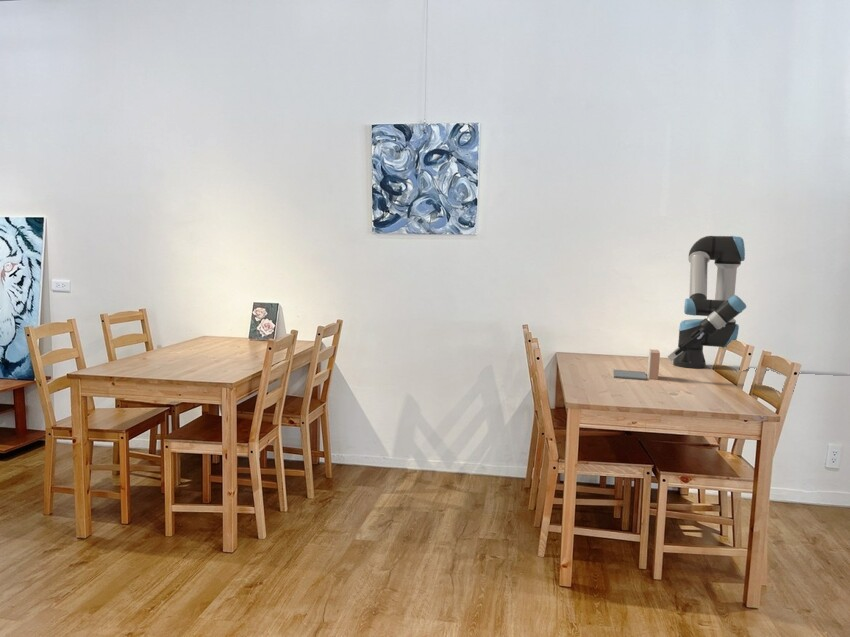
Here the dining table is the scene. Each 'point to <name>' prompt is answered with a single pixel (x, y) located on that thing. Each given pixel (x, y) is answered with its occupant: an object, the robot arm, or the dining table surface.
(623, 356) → the dining table surface
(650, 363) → the terracotta block
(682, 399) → the dining table surface
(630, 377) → the slate mat
